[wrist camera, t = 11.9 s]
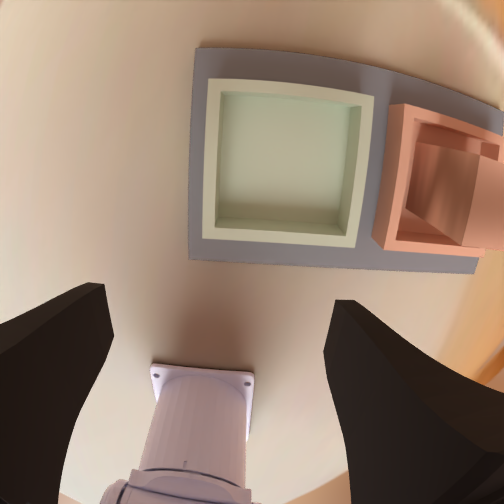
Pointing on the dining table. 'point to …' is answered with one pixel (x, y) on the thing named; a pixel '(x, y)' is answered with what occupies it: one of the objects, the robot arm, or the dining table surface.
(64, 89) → the dining table surface
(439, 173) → the terracotta block
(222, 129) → the sorting board
